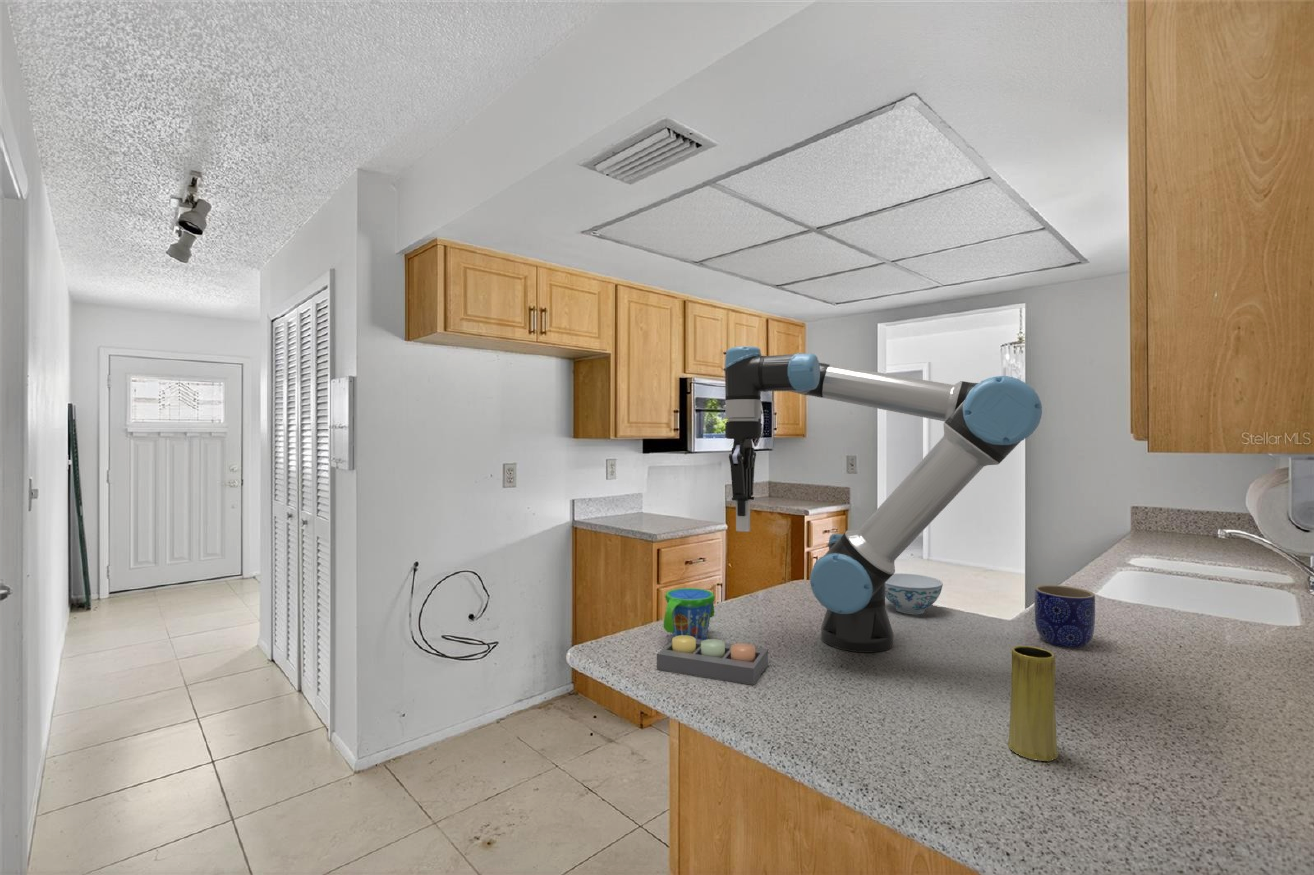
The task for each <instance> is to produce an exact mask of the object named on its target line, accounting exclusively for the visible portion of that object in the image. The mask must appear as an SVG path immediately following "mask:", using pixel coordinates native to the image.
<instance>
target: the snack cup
mask: <svg viewBox="0 0 1314 875" xmlns="http://www.w3.org/2000/svg"><path fill="white" fill-rule="evenodd" d="M664 597H665V601H666V602H667V604H666V608H665V613H664V617H663V628H664V631H666V632H667V633H670V634H671V635H672V638H673V637H675V636H679V635H688V636H692V637H694V638H695V639H700V640H707V639H708V633H709V628H710V627H709V626H710V620H711V618H713V617H714V616H715V606H714V601H715V600H716V599H715V598H716V597H715V595H714V592H712V591H710V590H707V589H702V588H696V587H695V588H694V587H689V588H688V587H686V588H685V587H684V588H675V589H671V590H668V591H667V592H666V593H665V595H664Z"/></svg>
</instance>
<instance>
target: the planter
mask: <svg viewBox="0 0 1314 875" xmlns="http://www.w3.org/2000/svg"><path fill="white" fill-rule="evenodd" d="M1033 605H1034V622H1035V629H1036V631H1037V633H1038V634H1039V636H1040V637H1041V639H1043V641H1045V642H1046V643H1048V644H1051V645H1053V646H1057V647H1061V648H1068V649H1078V648H1083V647H1085V646H1087V645H1088V644H1090V642H1091V641H1092V639H1093V638H1094V635H1095V634H1094V633H1095V624H1096V595H1095V593H1094V592H1092V591H1090V590H1087V589H1083V588H1079V587H1075V586H1074V587H1073V586H1067V585H1057V584H1044V585H1037V586H1036V587H1035V588H1034V604H1033Z"/></svg>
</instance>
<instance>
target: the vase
mask: <svg viewBox="0 0 1314 875" xmlns="http://www.w3.org/2000/svg"><path fill="white" fill-rule="evenodd" d="M1010 674H1011V677H1010V678H1011V681H1010V682H1011V683H1010V707H1009V708H1010V710H1009V711H1010V713H1009V724H1008V725H1009V729H1008V740H1007V746H1008V748H1009V750H1013V751H1014V752H1015V753H1016V755H1017V754H1020V755H1022V756H1024V757H1027V758H1030V759H1037V760H1043V761H1047V760H1048V762H1051V761H1050V760H1052V759H1055V760H1056V759H1058V757H1059V753H1058V742H1057V738H1058V736H1057V721H1056V719H1057V718H1056V696H1055V695H1056V694H1055V691H1056V683H1055V682H1056V658H1055V654H1054V653H1053V652H1052V651H1050V650H1048V649H1045V648H1042V647H1038V646H1031V645H1017V646H1013V647H1012V648H1011V673H1010ZM1013 751H1012V752H1013ZM1014 752H1013V753H1014ZM1015 753H1014V754H1015ZM1024 757H1023V758H1024ZM1027 758H1026V759H1027ZM1030 759H1029V760H1030Z"/></svg>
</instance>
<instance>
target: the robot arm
mask: <svg viewBox="0 0 1314 875" xmlns="http://www.w3.org/2000/svg"><path fill="white" fill-rule="evenodd" d="M761 351H762V350H761V348H759V347H757V346H734V347H729V348H728V349H727V350H726V352H725V362H724V364H725V365H724V366H725V367H724V387H725V388H724V389H725V392H724V393H725V394H724V395H725V398H724V399H725V400H724V401H725V404H724V405H723V406H722V408H723V410H725V411H724V412H725V416H724V417H725V419H726V420H727V421H726V422H725V423H724V432H725V433H724V436H725V438H726V439H728V440H730V439H731V440H732V439H733V445H732V448H731V453H729V455H728V460H729V465H730V476H731V489H732V497H731V500H732V501H735V531H736V532H748V533H749V532H751V501H753V500H754V499H755V496H753V495H754V482H755V480H754V479H755V464H756V457H757V453H756V451H755V448H754V447H753V440H754V439H755V440H759V439H760V438H761V437H762V436H761V432H762V426H761V425H762V423H761V421H759V420H760V419H761V418H762V404H761V403H762V400H761V399H762V398H761V394H762V392H763V393H764V392H765V393H768V392H791V393H796V394H799V395H803V396H811V397H815V398H822V399H827V400H833V401H837V402H842V403H847V404H853V405H856V406H857V405H858V406H864V407H867V408H873V409H879V410H883V411H888V412H895V413H899V414H905V415H910V416H916V417H920V418H925V419H930V420H935V421H941V422H943V436H942V437H941V438H940V439H939V441H938V442H937V443H936V444H935V445H934V446H933V447H932V448H931V450H929V451H928V453H927V454H926V455H925V456H924V457H923V458H922V459H921V461H920V462H918V463H917V465H915V467H913V469H912V471H910V472H909V474H907V476H906V477H905V478H904V479H903V480H902V481H901V482H900V484H899V485H898V486H896V488H895V489H894V490H893V491H892V492H891V494H889V496H888V497H887V498H885V500H884V501H883V502H882V503H881V504H880V505H879V507H878V508H877V509H875V511H874V512H872V515H871V516H870V517H868V519H867V520H866V521H865V522H864V523H863V524H862V526H860V528H859V529H853V530H852V529H848V530H846V531H845V532H844V533H833V534H831V535H830V536H829V538H828V539H829V540H828V544H827V546H828V551H827V552H826V553H825V554H824V555H823V556H820V557H819V558H818V559H817V561H815V562H814V565H813V566H812V569H811V572H810V577H809V582H810V588H811V591H812V593H813V597H815V599H816V600H817V601H818V602H819V603H820V604H821V606H822V607H823V608H825V609H826V612H825V614H824V617H823V620H822V623H821V626H820V639H821V641H822V642H823V643H825V644H827V645H829V646H831V647H833V648H835V649H836V648H838V649H840V650H844V651H850V652H858V653H876V652H877V653H878V652H884V651H888V650H890V649H891V648H893V647H894V645H895V638H894V637H895V636H894V635H895V634H894V630H893V627H892V624H891V621H890V619H889V616H888V615H889V614H888V613H887V610H886V597H885V582H886V581H887V580H888V579H889V578H890V577H891V576H892V575H893V574H896V566H895V561H896V560H897V558H899V556H901V555H902V554H903V552H904V551H905V550H907V548H908V547H909V546H911V544H912V543H913V541H915V539H917V538H918V537H919V536H920V534H921V533H923V531H924V530H925V529H926V528H927V527H928V526H929V525H930V524H931V523H932V522H933V521H934V520H935V518H937V517H938V516H939V514H941V512H942V511H943V510H944V509H945V508H946V507H947V506H949V504H950V503H951V502H952V501H953V500H954V499H955V498H956V497H957V495H959V493H960V492H962V490H963V489H964V488H966V486H967V485H968V484H969V483H970V482H971V481H972V480H973V479H974V477H976V476H977V475H978V473H980V471H981V470H982V469H983V468H985V467H986V466H998V465H1000V464H1001V462H1003V461H1004V460H1005V458H1007V456H1008V455H1009V454H1011V453H1012V451H1013V450H1014V449H1015V448H1016V447H1017V446H1018V445H1020V443H1021V442H1022V441H1024V440H1025V439H1027V438H1029V437H1030V436H1031V435H1032V434H1033V433H1034V432H1035V431H1036V430H1037V428H1038V426H1039V424H1040V423H1041V419H1042V414H1043V410H1042V409H1043V407H1042V402H1041V399H1040V397H1039V395H1038V393H1037V392H1036V391H1035V390H1036V389H1034V388H1033V387H1031V386H1030V385H1029V384H1028V383H1027V382H1025V381H1022V380H1021V379H1019V378H1016V377H1013V376H1009V375H999V376H998V375H997V376H992V377H988V378H986V379H984V380H981V381H980V382H970V381H963V380H960V381H958V382H957V383H955V384H951V383H944V382H938V381H933V380H926V379H920V378H915V377H908V376H902V375H896V374H890V373H883V372H878V371H872V370H865V369H860V368H859V369H858V368H853V367H848V366H842V365H841V366H840V365H837V364H836V365H835V364H829V363H824V362H820V361H819V359H818V356H817V355H816V354H814V353H802V352H797V353H791V354H790V353H789V354H779V355H762V352H761Z"/></svg>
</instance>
